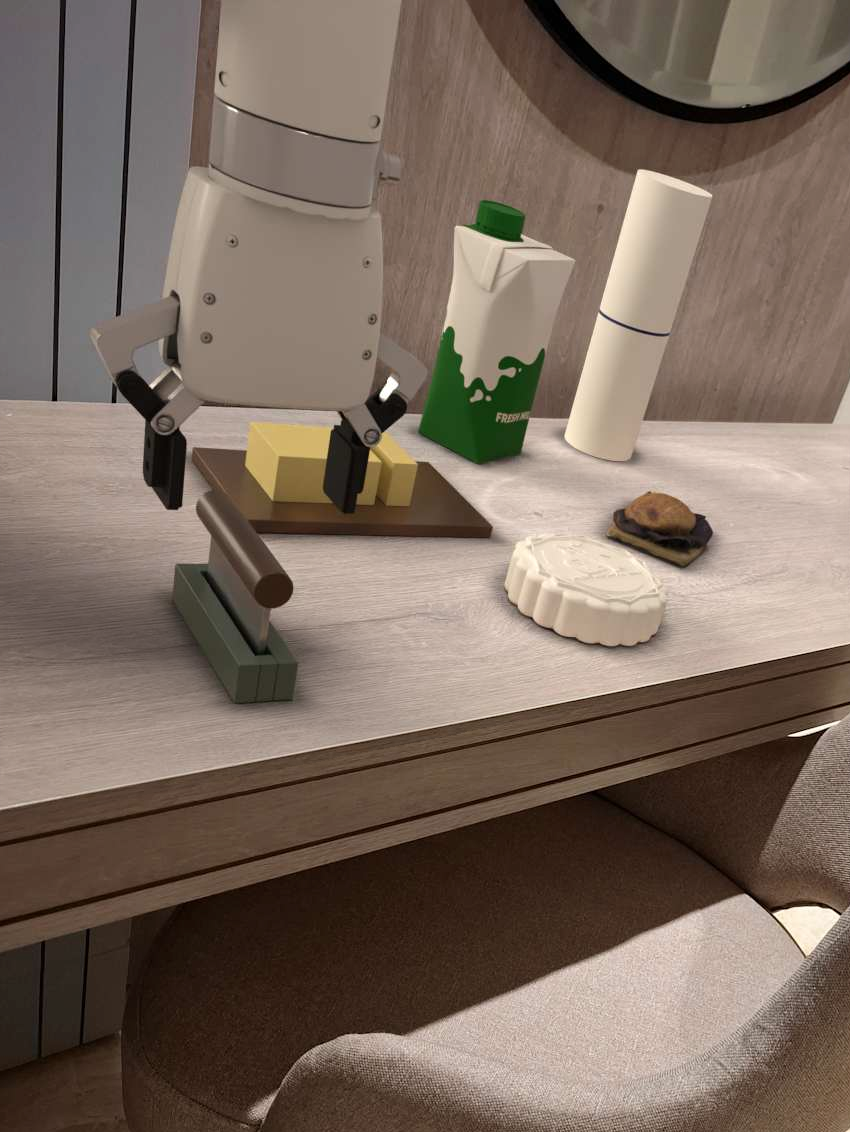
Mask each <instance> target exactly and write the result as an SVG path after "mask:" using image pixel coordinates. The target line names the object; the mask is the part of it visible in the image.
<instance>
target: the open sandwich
mask: <svg viewBox="0 0 850 1132" xmlns="http://www.w3.org/2000/svg"><path fill="white" fill-rule="evenodd" d="M612 515H613V516H612V517H613V519H612V523H611V524H610V526H609V528H608V530H607V532H606V536H607V537H613V539H619V540H620V541H622V542H624V543H627V544H630V545H632V546H635V547H639V548H642V549H643V550H646V551H647V552H648V553H651V554H653V555H654V556H659V557H660V558H663V559H667V560H669V561H671V562H674V563H676V564H679V566H681V567H684V566H686V565H688V564H690V562H692V561H694V560H696V559H697V558H698V557H699V556H700V554H702V551H703V550H704V548H706V547H707V544H708V543H710V540H711V539H712V537H713V534H714V530H713V528H712V527H711V524H710V523H709V522H708V520H707V516H706V515H704V514H701V513H695V512H693V511H692V509H690V507H689V506H688V505H687V504H685V503H684V502H683V501H681V500H680V499H679V498H677V497H675V496H672V495H669V494H667V493H663V492H651V491H650V490H649V491H647V492H646V493H644V494H642V495H640V496H638V497H637V498H635V499H634V500H633V501H631V502H630V503H629V504H628V507H626V508H620V509H616V510H615V511H614V512H613V514H612Z"/></svg>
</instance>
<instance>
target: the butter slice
mask: <svg viewBox="0 0 850 1132" xmlns="http://www.w3.org/2000/svg"><path fill="white" fill-rule="evenodd" d="M370 450H371V451H372V452H373V453H374V454H375V455H376V456H377V457H378V459H379V460H380V461H381V462H382V465H381V470H380V475H379V481H378V486H377V491H376V495H377V496H378V497H379V498H380V499H381V500H382V501H383V503H384V504H385V505H386V506H409V505H410V500H411V495H412V491H413V486H414V481H415V476H416V471H417V467H418V464H417V463H416V462H415V461H416V460H414V459H413V457H411V455H410V454H409V453H407V452H406V450H405V449H403V447H401V445H399V444H398V442H397V441H395V440H394V438H392V436H391V435H390V434H388V432H387V431H384V432H383V433H382V438H381V441H380V443H379V444H378V445H376V446H374V447H370Z"/></svg>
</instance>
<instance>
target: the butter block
mask: <svg viewBox="0 0 850 1132" xmlns="http://www.w3.org/2000/svg"><path fill="white" fill-rule="evenodd" d="M249 424H250V425H249V430H248V439H247V447H246V450H247V454H246V462H245V466H246V468H247V469H248V470H249V471H250V473H251V474H252V475H253V477H254V478H255V479H256V480H257V482H258V483H259V484H260V485H261V487H262V488H263V489H264V491H265V492H266V493H267V494H268V496H269V497H270V498H271V500H272V501H278V502H304V503H331V504H334V503H333V502H332V501H331V500H330V499H329V498H328V497H327V495H326V494H325V493H324V492H323V481H324V475H325V468H326V461H327V454H328V447H329V440H330V433H331V430H332V429H334V427H329V426H328V427H326V426H315V425H301V424H288V423H276V422H263V421H250V422H249ZM381 465H382V462H381V461H380V460H379V459H378V457H377V456H376V455H375V454H374V453H373V452H372V451H371V450H370V453H369V459H368V465H367V471H366V477H365V483H364V488H363V491H362V493H361V494H358V496H357V502H356V504H357V505H374V502H375V496H376V491H377V486H378V481H379V475H380V470H381Z"/></svg>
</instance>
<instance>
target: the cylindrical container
mask: <svg viewBox="0 0 850 1132" xmlns="http://www.w3.org/2000/svg"><path fill="white" fill-rule="evenodd" d="M712 199H713V194H711V192H708V191H707V190H705V189H703V188H701V187H699V186H696V185H694V184H692V183H689V182H687V181H684V180H682V179H678V178H675V177H673V176H670V175H666V174H663V173H659V172H655V171H653V170H648V169H637V172H636V175H635V180H634V183H633V185H632V189H631V193H630V197H629V200H628V203H627V208H626V212H625V216H624V219H623V222H622V225H621V230H620V233H619V237H618V241H617V244H616V248H615V251H614V255H613V259H612V262H611V266H610V270H609V274H608V277H607V281H606V284H605V287H604V291H603V295H602V298H601V302H600V306H599V310H598V312H597V316H596V320H595V324H594V328H593V332H592V334H591V339H590V342H589V345H588V349H587V352H586V357H585V360H584V362H583V363H584V364H583V367H582V371H581V375H580V378H579V382H578V385H577V389H576V393H575V396H574V400H573V403H572V407H571V409H570V410H571V411H570V414H569V417H568V422H567V425H566V429H565V433H564V437H563V438H564V440H565V441H566V442H567V444H569V445H570V446H571V447H572V448H575V449H576V450H577V451H580V452H582V453H584V454H586V455H588V456H591V457H595V458H598V459H602V460H606V461H612V462H626V461H629V460H631V459H632V456H633V453H634V450H635V447H636V443H637V440H638V437H639V434H640V431H641V427H642V424H643V421H644V417H645V414H646V411H647V409H648V405H649V402H650V398H651V396H652V392H653V389H654V386H655V382H656V380H657V376H658V373H659V369H660V365H661V363H662V359H663V356H664V354H665V350H666V347H667V343H668V341H669V338H670V334H671V330H672V328H673V324H674V321H675V318H676V315H677V312H678V309H679V305H680V302H681V298H682V296H683V292H684V289H685V287H686V283H687V280H688V276H689V273H690V270H691V266H692V264H693V260H694V257H695V254H696V250H697V249H698V244H699V241H700V237H701V235H702V231H703V228H704V225H705V222H706V219H707V215H708V212H709V209H710V205H711V204H712V203H711V202H712Z"/></svg>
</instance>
